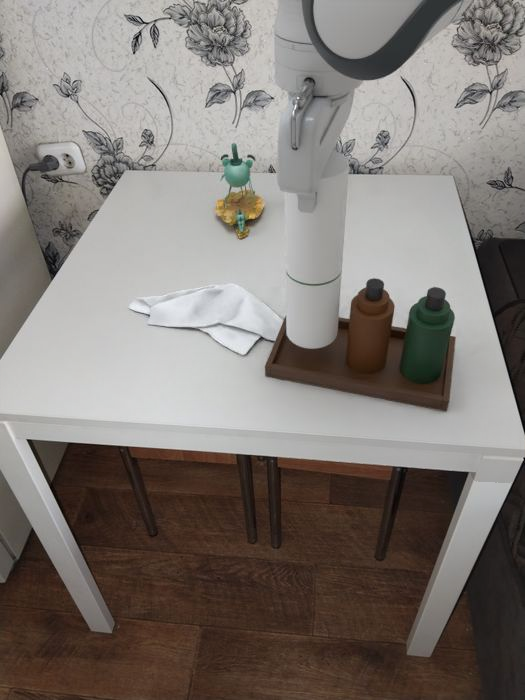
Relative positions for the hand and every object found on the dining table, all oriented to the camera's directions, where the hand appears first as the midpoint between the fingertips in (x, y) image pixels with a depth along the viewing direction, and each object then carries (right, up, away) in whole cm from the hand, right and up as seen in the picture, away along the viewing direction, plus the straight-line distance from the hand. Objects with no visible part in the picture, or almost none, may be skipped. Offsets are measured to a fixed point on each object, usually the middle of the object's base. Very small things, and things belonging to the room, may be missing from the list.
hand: (316, 190), depth 67 cm
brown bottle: (+8, -20, +16) cm, 27 cm away
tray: (+8, -20, +16) cm, 27 cm away
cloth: (-14, -12, +25) cm, 31 cm away
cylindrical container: (+1, -16, +15) cm, 22 cm away
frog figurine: (-11, +8, +46) cm, 48 cm away
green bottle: (+16, -21, +14) cm, 30 cm away
